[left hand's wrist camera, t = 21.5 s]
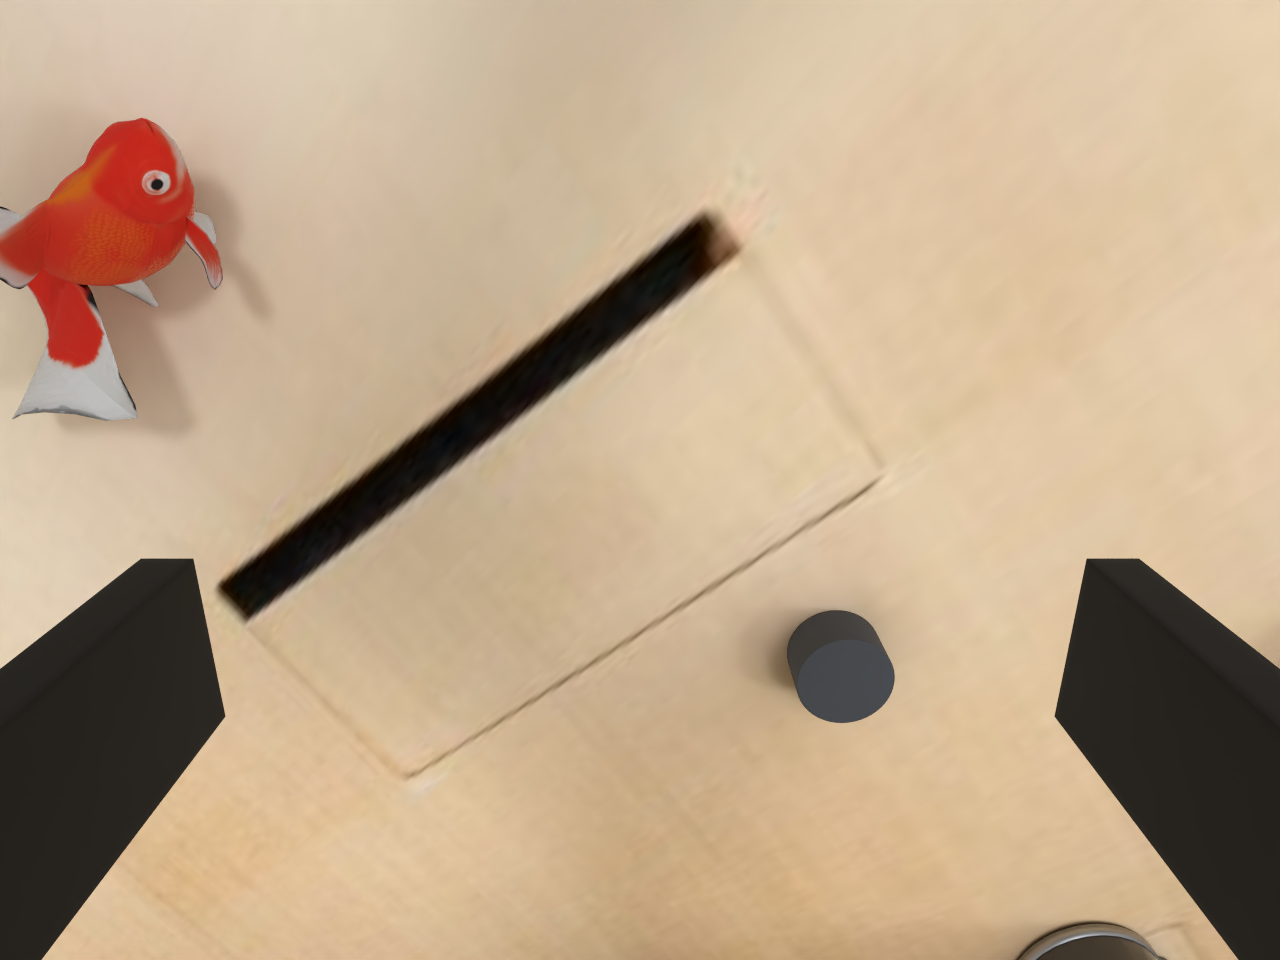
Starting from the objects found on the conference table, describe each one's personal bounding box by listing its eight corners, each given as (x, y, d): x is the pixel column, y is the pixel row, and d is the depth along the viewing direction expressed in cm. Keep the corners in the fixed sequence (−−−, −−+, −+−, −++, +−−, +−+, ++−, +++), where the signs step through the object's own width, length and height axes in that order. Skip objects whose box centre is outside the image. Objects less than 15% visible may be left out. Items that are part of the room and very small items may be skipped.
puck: (789, 610, 45) (799, 639, 42) (883, 610, 45) (900, 639, 42) (784, 690, 47) (793, 723, 44) (874, 689, 47) (889, 723, 44)
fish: (343, 324, 35) (86, 345, 27) (174, 448, 44) (-59, 492, 36) (245, 83, 35) (-43, 29, 27) (96, 256, 44) (-155, 256, 35)
